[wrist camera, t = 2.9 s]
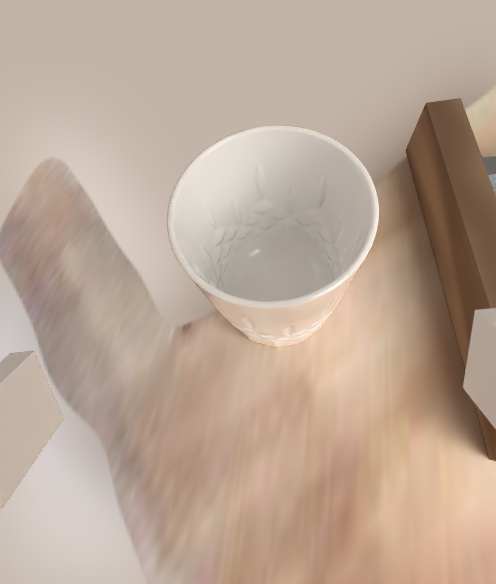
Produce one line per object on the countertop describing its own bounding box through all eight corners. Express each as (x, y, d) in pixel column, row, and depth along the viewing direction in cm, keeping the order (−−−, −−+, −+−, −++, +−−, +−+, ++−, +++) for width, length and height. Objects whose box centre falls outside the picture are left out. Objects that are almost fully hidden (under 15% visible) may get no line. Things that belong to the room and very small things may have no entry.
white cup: (201, 267, 24) (142, 168, 14) (307, 223, 24) (319, 97, 15) (243, 377, 21) (206, 344, 12) (364, 326, 21) (423, 252, 12)
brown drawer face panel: (434, 146, 25) (460, 98, 21) (530, 457, 18) (594, 467, 14) (405, 150, 25) (425, 103, 21) (489, 459, 18) (541, 469, 14)
